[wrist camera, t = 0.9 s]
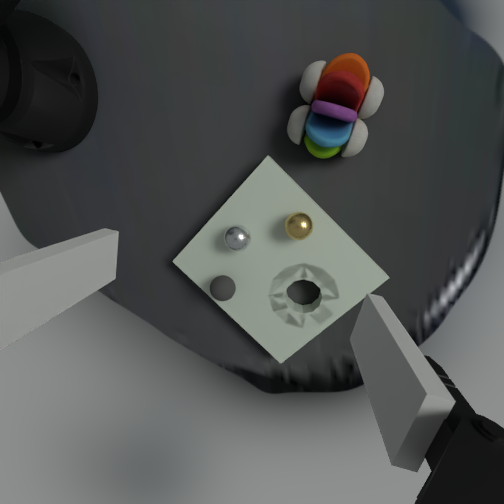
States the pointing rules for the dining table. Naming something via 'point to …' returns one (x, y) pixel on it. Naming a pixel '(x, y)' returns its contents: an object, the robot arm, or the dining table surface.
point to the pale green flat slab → (279, 263)
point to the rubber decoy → (222, 288)
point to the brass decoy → (298, 226)
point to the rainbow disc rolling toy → (335, 106)
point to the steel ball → (237, 238)
